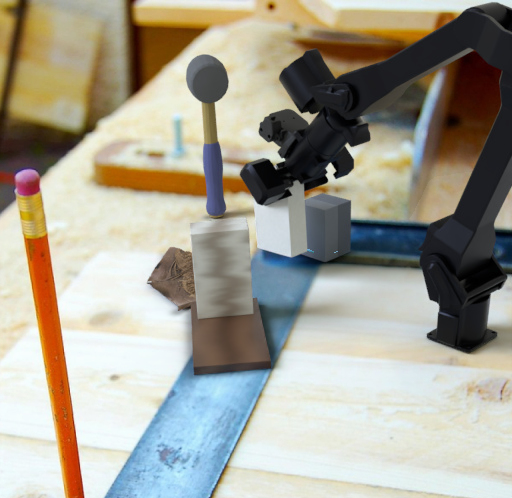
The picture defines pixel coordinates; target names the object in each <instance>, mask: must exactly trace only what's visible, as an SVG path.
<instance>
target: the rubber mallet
mask: <svg viewBox="0 0 512 498" xmlns="http://www.w3.org/2000/svg"><path fill="white" fill-rule="evenodd" d="M185 82H186V85H187V89H188V90H189V92H190V93H191V95H192V96H193V97H194V98H195V99H196V100H197V101H199V102H201V115H202V130H203V147H202V168H203V173H204V174H203V175H204V178H205V186H206V203H205V210H206V213H207V214H208V216H209V217H210V218H213V219H214V218H221V217H223V216H224V215H225V213H226V211H227V204H226V201H225V197H224V182H223V181H224V180H223V178H224V177H223V176H224V162H223V155H222V148H221V144H220V142H219V137H218V125H217V113H216V103H217V102H219V101H220V100H222V99H223V98H224V96H225V95H226V94H227V91H228V89H229V85H230V84H229V83H230V80H229V76H228V71H227V69H226V67H225V65H224V64H223V62H222V61H220V60H219V59H218V58H217V57H215V56H213V55H211V54H204V53H202V54H199V55H197V56H194V57H193V58H192V59H191V61H190V62H189V63H188V66H187V67H186V71H185Z"/></svg>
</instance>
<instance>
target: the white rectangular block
mask: <svg viewBox="0 0 512 498" xmlns="http://www.w3.org/2000/svg"><path fill="white" fill-rule="evenodd" d="M274 167H275V168H276V166H275V165H274ZM276 169H277V168H276ZM293 183H294V185H293V186H292V187H291V188H289V190H290V192H291V194H292V196H290V197H288V198H285V199H282V200H280V201H277V202H275V203H272V204H270V205H267V206H264V205H263V206H262V205H259V204H257V202H256V201H255V199H254V198H253V197H252V199H253V210H254V211H253V212H254V223H255V234H256V246H257V249H259V250H264V251H266V252H270V253H273V254H277V255H280V256H284V257H288V258H294V257H297V256H300V255H302V253H304V252H307V234H306V215H305V199H306V197H305V192H304V184H300V182H299V181H296V182H293Z"/></svg>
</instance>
